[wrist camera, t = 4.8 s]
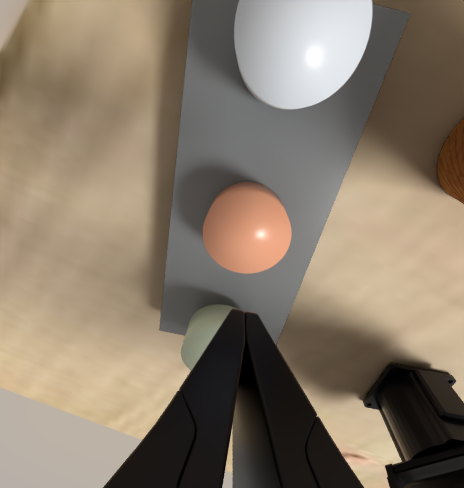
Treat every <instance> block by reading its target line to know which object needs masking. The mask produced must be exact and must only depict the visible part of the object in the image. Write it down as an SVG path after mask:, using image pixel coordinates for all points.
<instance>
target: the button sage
mask: <svg viewBox="0 0 464 488" xmlns="http://www.w3.org/2000/svg"><path fill="white" fill-rule="evenodd" d="M231 309H236V308H234V307H232V306H228V305H221V304H215V305H209V306H205V307H203V308H201V309H199V310H198V311H196V312H195V313H194V314H193V316H192V317H191V319H190V322H189V325H188V329H187V332H186V335H185V339H184V342H183V346H182V349H181V356H182V359H183V361H184V363H185V365H186V366H187V367H188V368H189V369H190V370H192V369H193V367H194V366H195V364H196V363H197V361H198V360H199V358H200V356H201V355H202V353H203V352H204V350H205V349H206V347H207V346H208V344H209V343H210V341H211V340H212V338H213V337H214V335H215V334H216V332H217V330H218V329H219V327H220V326H221V324H222V323H223V321H224V320H225V318H226V317H227V315H228V314H229V312H230V311H231Z"/></svg>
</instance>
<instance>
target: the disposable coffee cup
mask: <svg viewBox="0 0 464 488" xmlns="http://www.w3.org/2000/svg"><path fill="white" fill-rule="evenodd" d="M437 171H438V179H439V182H440V184H441V186H442V188H443V189H444V190H445V192H446V193H448V194H449V195H451V196H452V197H453V198H455V199H457V200H459V201H460V202H462V203H463V204H464V118H463V119H462V121H461V122H460V123H459V124H458V125H457V126H456V127H455V128H454V129H453V131H452V132H451V134H450V135H449V137H448V138H447V140H446V141H445V143H444V145H443V147H442V149H441V153H440V156H439V159H438V165H437Z"/></svg>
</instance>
